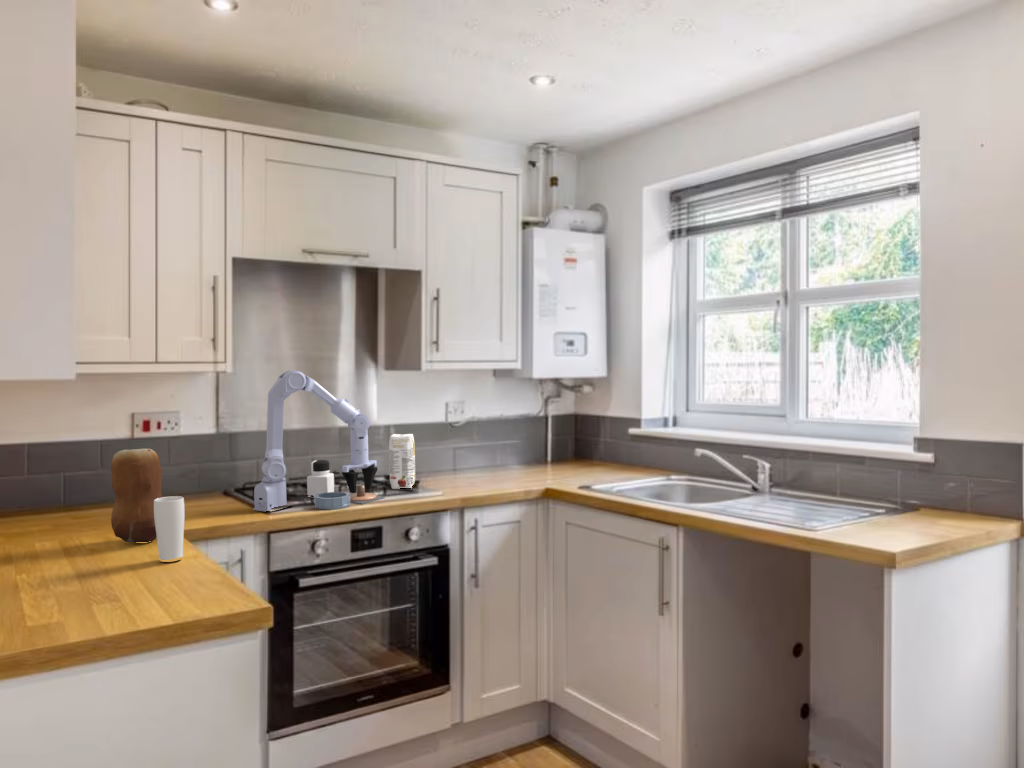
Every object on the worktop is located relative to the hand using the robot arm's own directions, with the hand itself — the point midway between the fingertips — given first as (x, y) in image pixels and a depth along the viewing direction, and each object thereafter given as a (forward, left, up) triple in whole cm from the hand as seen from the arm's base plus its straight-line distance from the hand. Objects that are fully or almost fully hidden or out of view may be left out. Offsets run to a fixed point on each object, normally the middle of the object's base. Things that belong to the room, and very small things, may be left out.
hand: (360, 490), depth 257 cm
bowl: (-12, +1, -3) cm, 12 cm away
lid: (0, 0, -2) cm, 3 cm away
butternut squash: (-70, +13, -3) cm, 71 cm away
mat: (0, 0, -3) cm, 3 cm away
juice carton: (+23, +1, -3) cm, 23 cm away
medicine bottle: (-1, +17, -3) cm, 17 cm away
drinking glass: (-77, -9, -3) cm, 77 cm away
